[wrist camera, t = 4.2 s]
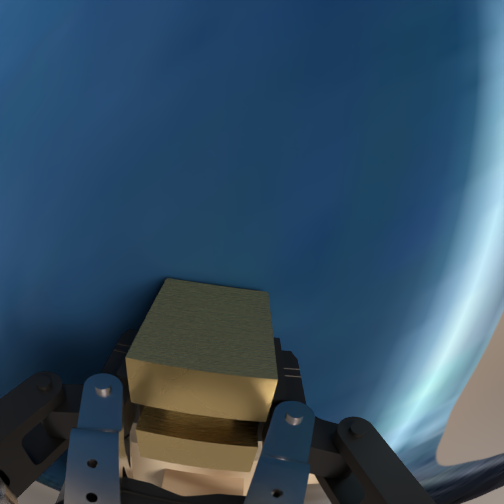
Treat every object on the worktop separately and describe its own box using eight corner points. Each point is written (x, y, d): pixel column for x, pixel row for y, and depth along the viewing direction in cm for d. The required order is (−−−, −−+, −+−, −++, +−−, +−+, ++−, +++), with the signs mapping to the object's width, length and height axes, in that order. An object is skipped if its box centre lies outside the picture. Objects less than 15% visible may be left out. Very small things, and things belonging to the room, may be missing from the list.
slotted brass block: (249, 384, 14) (250, 472, 9) (165, 372, 14) (140, 456, 9) (268, 292, 12) (278, 379, 8) (166, 277, 12) (125, 357, 8)
